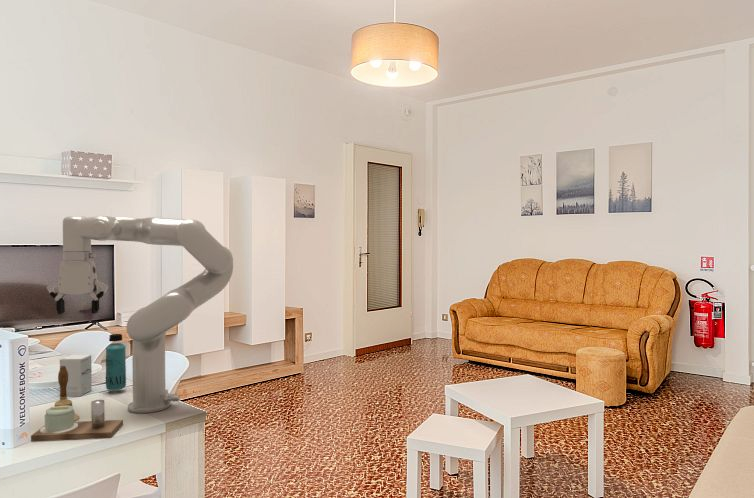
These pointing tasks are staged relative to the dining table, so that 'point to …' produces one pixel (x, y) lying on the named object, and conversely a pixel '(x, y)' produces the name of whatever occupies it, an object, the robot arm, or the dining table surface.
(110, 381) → the beverage bottle
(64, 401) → the hand bell
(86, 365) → the supplement box
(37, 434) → the board
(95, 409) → the post
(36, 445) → the dining table surface
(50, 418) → the cap
